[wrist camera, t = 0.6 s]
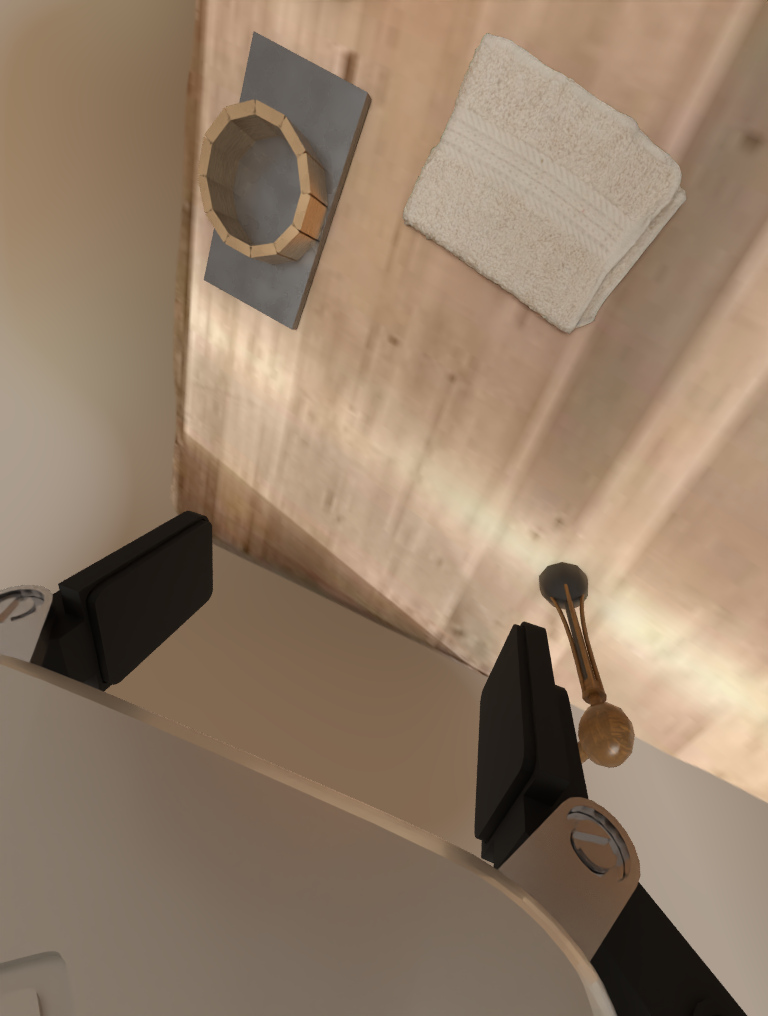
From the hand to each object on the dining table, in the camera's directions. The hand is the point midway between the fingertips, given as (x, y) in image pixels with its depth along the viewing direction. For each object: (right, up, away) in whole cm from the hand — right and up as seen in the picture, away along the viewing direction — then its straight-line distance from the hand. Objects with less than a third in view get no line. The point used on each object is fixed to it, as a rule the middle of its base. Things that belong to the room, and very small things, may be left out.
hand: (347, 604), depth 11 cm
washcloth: (+13, +27, +19) cm, 35 cm away
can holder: (-8, +30, +23) cm, 39 cm away
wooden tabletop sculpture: (+20, -5, +31) cm, 37 cm away
